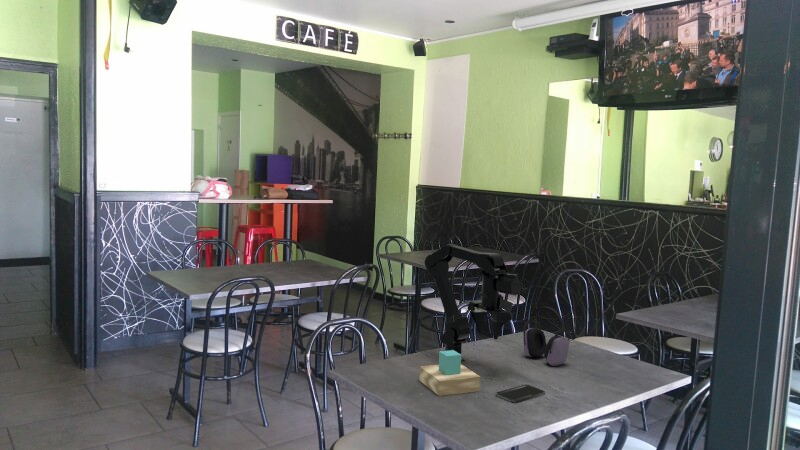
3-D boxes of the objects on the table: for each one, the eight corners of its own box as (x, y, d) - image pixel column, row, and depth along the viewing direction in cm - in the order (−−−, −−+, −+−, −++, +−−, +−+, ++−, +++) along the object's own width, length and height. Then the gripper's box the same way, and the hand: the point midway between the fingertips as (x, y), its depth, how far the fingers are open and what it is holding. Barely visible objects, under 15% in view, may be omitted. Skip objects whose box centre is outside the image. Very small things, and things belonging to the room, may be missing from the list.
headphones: (536, 352, 221) (539, 301, 220) (571, 365, 207) (575, 310, 206) (518, 356, 216) (522, 303, 214) (553, 369, 202) (557, 313, 200)
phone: (494, 392, 175) (527, 383, 184) (494, 396, 175) (526, 387, 184) (514, 401, 168) (547, 391, 177) (513, 405, 168) (546, 395, 178)
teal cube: (438, 370, 182) (439, 351, 181) (452, 368, 184) (453, 350, 183) (446, 375, 177) (447, 356, 177) (460, 373, 179) (461, 354, 179)
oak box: (419, 381, 185) (419, 366, 185) (457, 377, 191) (458, 362, 190) (439, 397, 172) (440, 381, 172) (479, 392, 178) (480, 376, 177)
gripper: (526, 294, 191) (524, 341, 192) (494, 284, 208) (492, 327, 209) (498, 296, 186) (496, 344, 187) (468, 285, 203) (465, 329, 204)
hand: (487, 335), depth 197 cm, fingers open, 9 cm apart
